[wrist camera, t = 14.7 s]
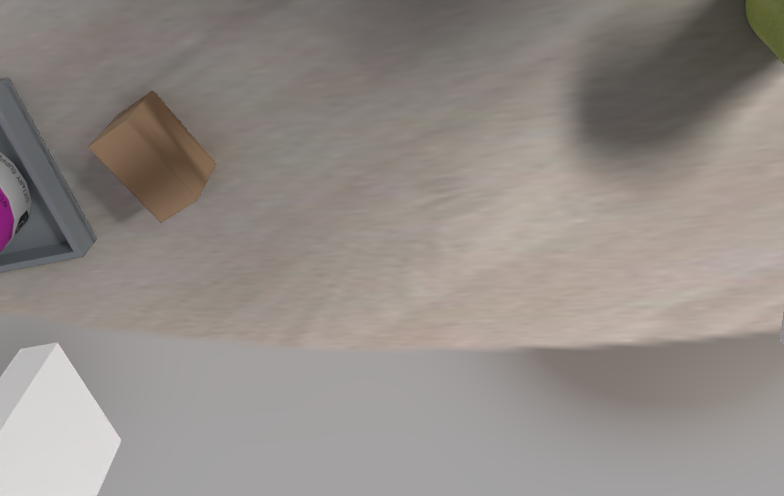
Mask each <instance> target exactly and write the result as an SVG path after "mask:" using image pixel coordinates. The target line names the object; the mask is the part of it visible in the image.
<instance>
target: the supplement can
mask: <svg viewBox="0 0 784 496" xmlns="http://www.w3.org/2000/svg"><path fill="white" fill-rule="evenodd" d="M31 203H32V201H31V197H30V194H29V190H28V186H27V183H26V181H25V180H24V178H23V177H22V175H21V174H20V172H19V171H18V169H17V168H16V166H15V165H14V163H13V162H11V161H10V160H9V159H8V158H7V157H6V156H5V155H3V154H2V153H1V152H0V252H1V251H2V250H3V249H4V248H5V247H6V246H7V245H8V244H9V243H10V241H11V240H12V239H13V238H14V237H15V236H16V235H17V234H18V233H19V232H20V230H21V229H22V228H23V226H24V225H25V224H26V222H27V221H28V220H29V216H30V210H31Z"/></svg>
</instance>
